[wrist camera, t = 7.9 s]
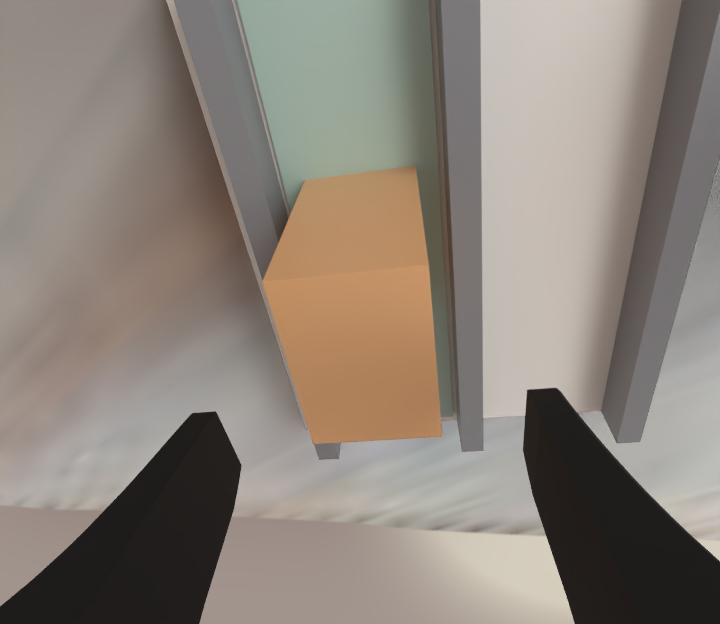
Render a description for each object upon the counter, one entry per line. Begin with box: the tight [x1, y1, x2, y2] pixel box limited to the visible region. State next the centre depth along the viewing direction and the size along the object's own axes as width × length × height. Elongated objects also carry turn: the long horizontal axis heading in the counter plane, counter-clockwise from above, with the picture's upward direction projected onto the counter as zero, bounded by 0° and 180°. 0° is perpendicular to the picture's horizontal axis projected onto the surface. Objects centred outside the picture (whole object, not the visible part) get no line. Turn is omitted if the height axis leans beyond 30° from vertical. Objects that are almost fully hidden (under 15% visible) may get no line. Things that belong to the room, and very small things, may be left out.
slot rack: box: [166, 0, 720, 460], centre depth 18 cm, size 17×20×3 cm
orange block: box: [262, 166, 442, 444], centre depth 16 cm, size 4×6×7 cm, turn 9°
